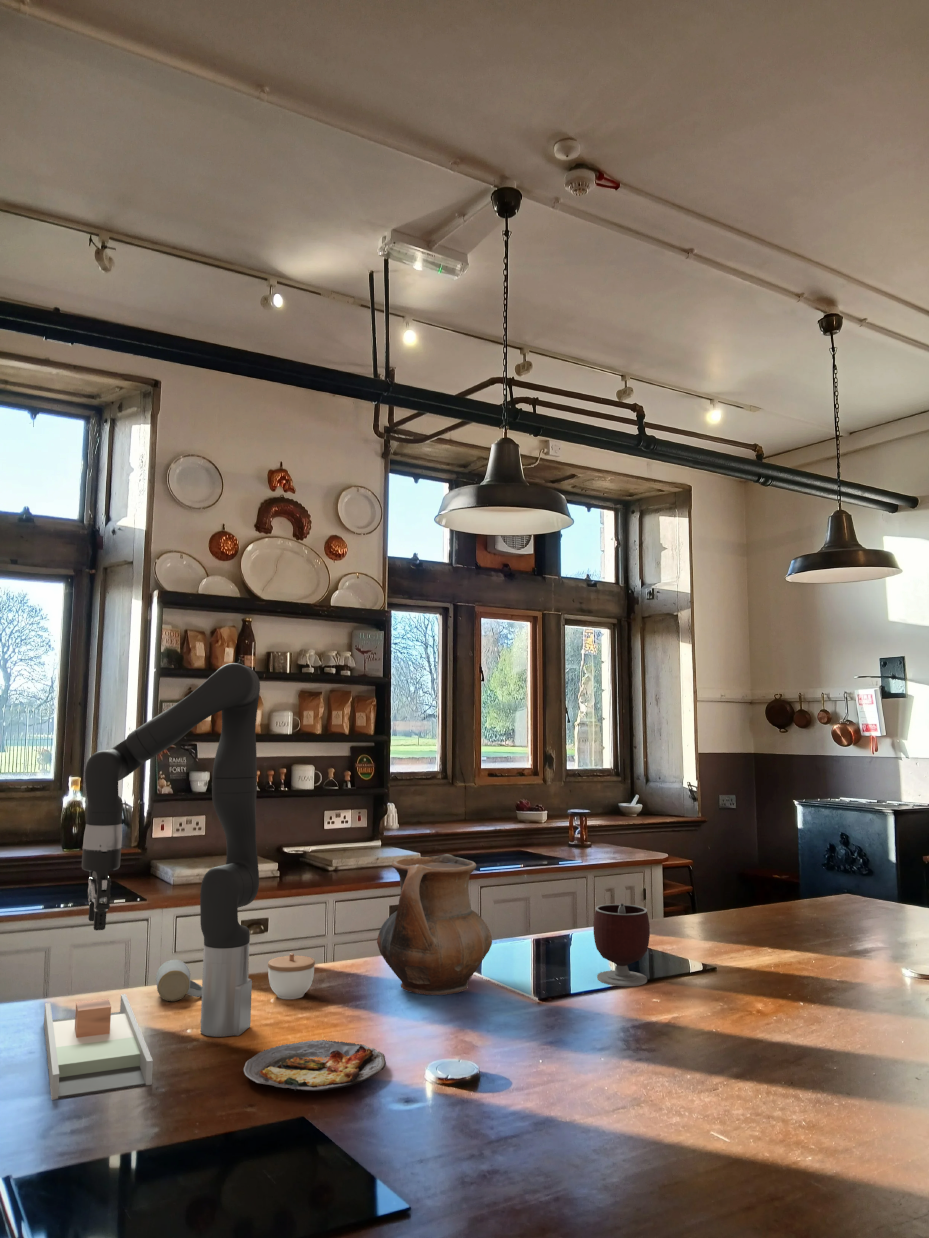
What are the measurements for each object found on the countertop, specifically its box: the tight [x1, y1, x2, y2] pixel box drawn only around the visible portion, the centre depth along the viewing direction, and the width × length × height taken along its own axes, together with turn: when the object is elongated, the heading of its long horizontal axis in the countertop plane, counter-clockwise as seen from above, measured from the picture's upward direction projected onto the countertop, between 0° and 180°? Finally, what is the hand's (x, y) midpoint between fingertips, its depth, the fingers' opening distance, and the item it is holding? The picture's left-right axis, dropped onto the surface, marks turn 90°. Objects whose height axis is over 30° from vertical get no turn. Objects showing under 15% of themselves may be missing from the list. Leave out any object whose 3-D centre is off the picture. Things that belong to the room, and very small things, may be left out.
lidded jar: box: [267, 952, 316, 1000], centre depth 215 cm, size 11×11×9 cm
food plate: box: [243, 1039, 387, 1092], centre depth 168 cm, size 25×23×4 cm
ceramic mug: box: [155, 959, 202, 1002], centre depth 213 cm, size 11×8×8 cm
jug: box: [376, 853, 493, 996], centre depth 226 cm, size 32×28×30 cm
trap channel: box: [43, 993, 154, 1101], centre depth 178 cm, size 44×16×4 cm, turn 26°
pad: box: [56, 1037, 140, 1077], centre depth 171 cm, size 10×14×2 cm
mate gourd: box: [593, 902, 651, 987], centre depth 231 cm, size 16×14×20 cm
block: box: [74, 998, 112, 1038], centre depth 182 cm, size 6×6×5 cm
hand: (96, 925), depth 193 cm, fingers open, 8 cm apart
